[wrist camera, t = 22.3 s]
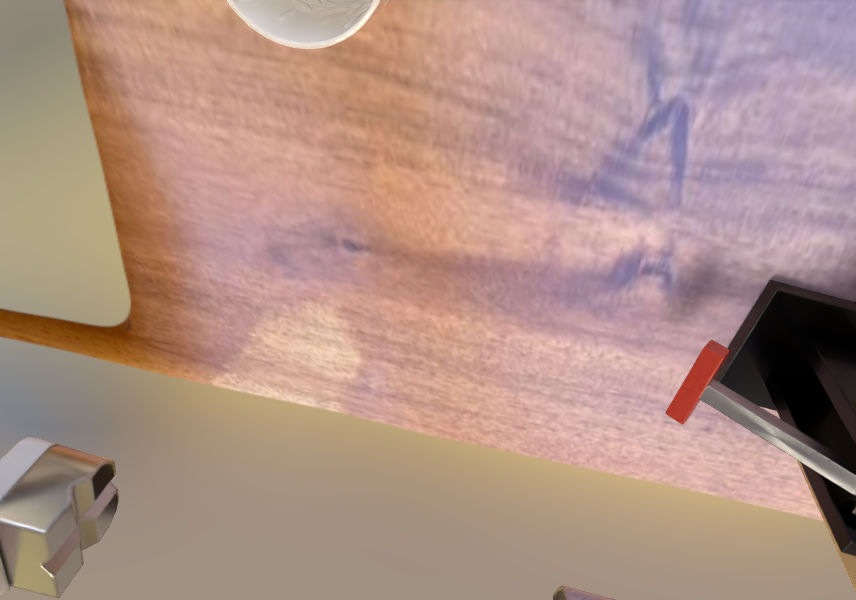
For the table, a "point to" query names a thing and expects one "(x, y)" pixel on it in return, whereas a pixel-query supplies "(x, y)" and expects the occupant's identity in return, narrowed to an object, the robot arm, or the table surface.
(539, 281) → the table surface
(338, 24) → the white cup
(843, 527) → the bracket
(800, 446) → the lever
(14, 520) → the robot arm
